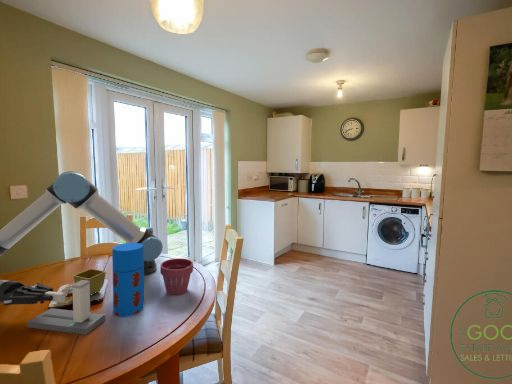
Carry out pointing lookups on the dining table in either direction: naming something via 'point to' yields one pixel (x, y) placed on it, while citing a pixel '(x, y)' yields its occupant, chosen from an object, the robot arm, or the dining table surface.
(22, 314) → the dining table surface
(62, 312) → the console
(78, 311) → the fader tab
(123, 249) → the thermos
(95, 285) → the flower pot
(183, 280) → the plant pot
